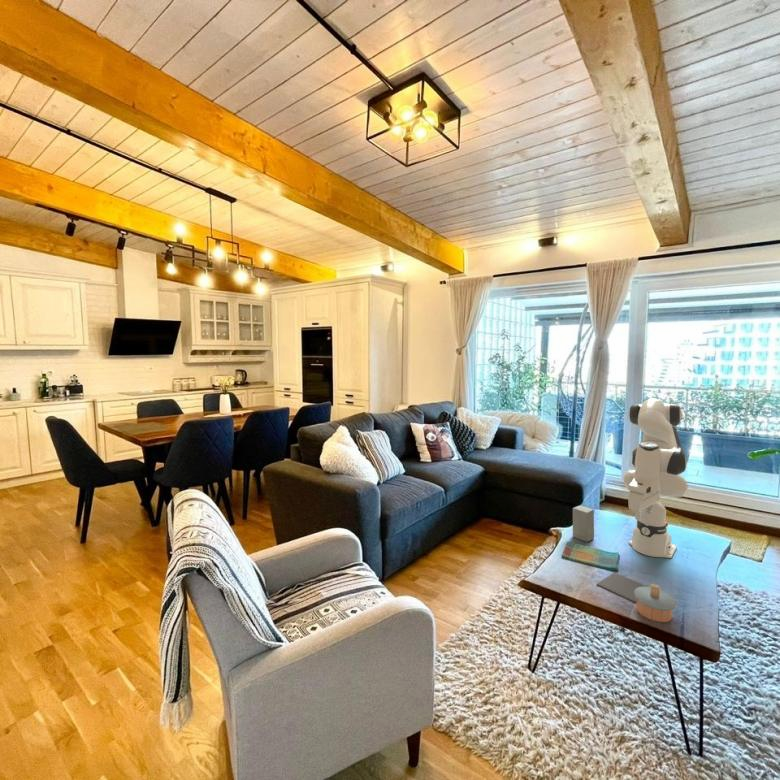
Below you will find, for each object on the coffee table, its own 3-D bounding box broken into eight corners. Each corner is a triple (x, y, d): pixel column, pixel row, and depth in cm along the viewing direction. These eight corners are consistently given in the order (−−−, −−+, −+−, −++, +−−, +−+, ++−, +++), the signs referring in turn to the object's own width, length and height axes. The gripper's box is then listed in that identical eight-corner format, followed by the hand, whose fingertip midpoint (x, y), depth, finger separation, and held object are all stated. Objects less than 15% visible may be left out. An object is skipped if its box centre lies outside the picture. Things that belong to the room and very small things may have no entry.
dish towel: (618, 574, 181) (618, 568, 181) (561, 559, 193) (561, 554, 193) (620, 557, 196) (620, 552, 195) (566, 544, 208) (566, 539, 207)
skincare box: (594, 539, 213) (595, 509, 211) (586, 543, 209) (587, 512, 207) (578, 533, 220) (580, 504, 218) (570, 536, 216) (572, 507, 214)
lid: (643, 585, 162) (644, 573, 162) (681, 601, 152) (682, 588, 151) (627, 596, 155) (628, 584, 154) (666, 615, 144) (667, 601, 144)
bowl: (644, 599, 161) (645, 587, 161) (676, 614, 153) (677, 601, 152) (630, 610, 155) (631, 597, 155) (663, 625, 146) (664, 612, 146)
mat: (614, 573, 180) (614, 572, 180) (652, 589, 168) (652, 588, 168) (596, 584, 171) (596, 583, 171) (635, 603, 159) (635, 601, 159)
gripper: (648, 476, 175) (646, 507, 177) (626, 486, 163) (623, 520, 165) (665, 480, 170) (663, 512, 172) (643, 491, 158) (640, 525, 160)
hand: (643, 516), depth 168 cm, fingers open, 8 cm apart
